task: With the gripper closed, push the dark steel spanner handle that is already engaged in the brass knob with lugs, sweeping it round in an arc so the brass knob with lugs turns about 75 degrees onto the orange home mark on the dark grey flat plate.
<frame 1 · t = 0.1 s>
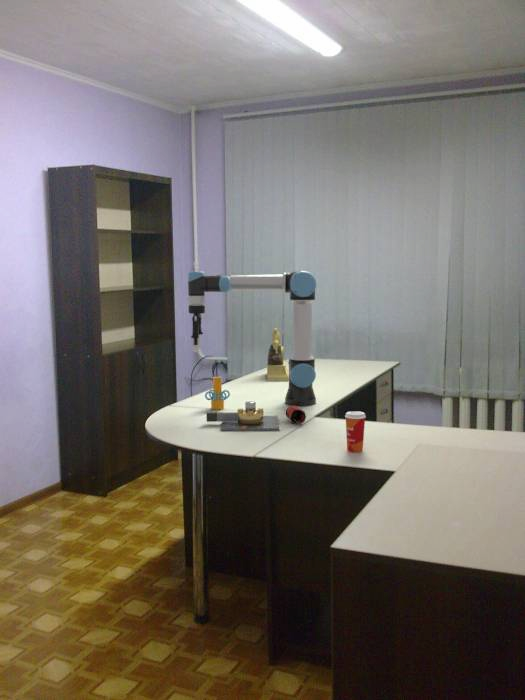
hand: (197, 350, 335), 28 cm above the table, fingers open, 13 cm apart
flat plate: (250, 424, 306), on the table
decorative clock: (278, 377, 428), on the table
cylinder: (217, 408, 339), on the table
beverage can: (294, 422, 311), on the table
brass knob with lugs: (235, 415, 305), point 4 cm above the table, hinge at 0.0°
paper cup: (354, 450, 263), on the table
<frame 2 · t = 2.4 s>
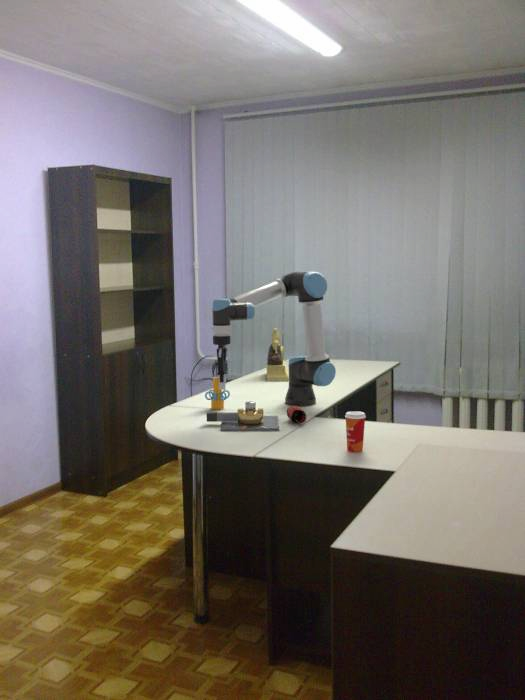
hand: (222, 389, 308), 14 cm above the table, fingers closed
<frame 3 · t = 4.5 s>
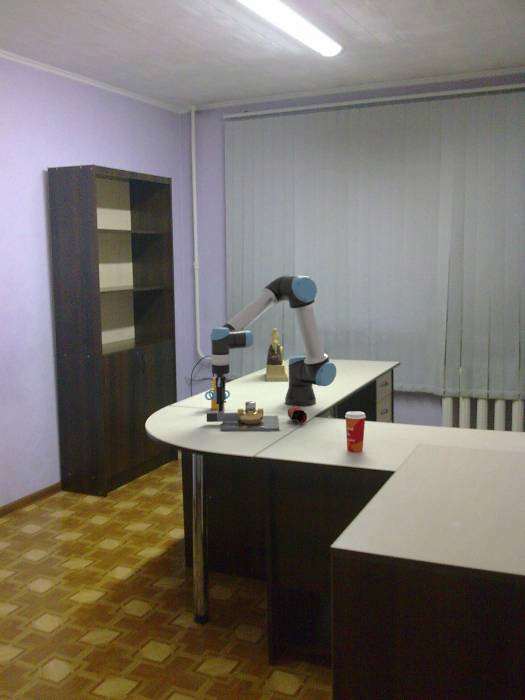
hand: (221, 418, 307), 2 cm above the table, fingers closed
brass knob with lugs: (235, 415, 305), point 4 cm above the table, hinge at 1.8°, touching gripper
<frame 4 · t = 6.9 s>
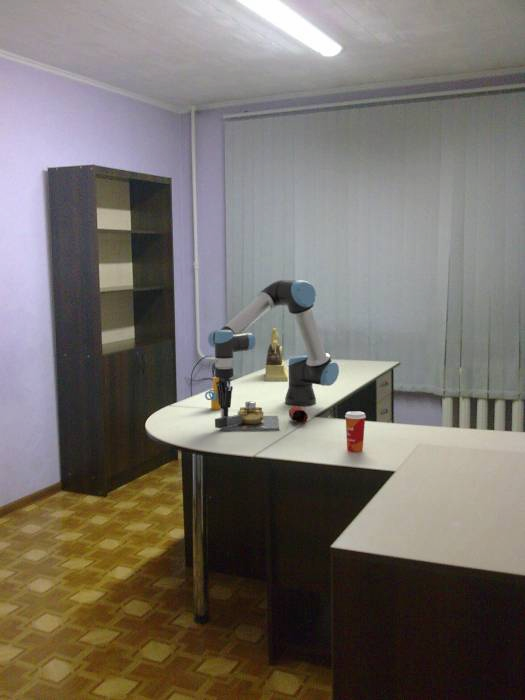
hand: (224, 423, 298), 2 cm above the table, fingers closed
brass knob with lugs: (239, 417, 301), point 4 cm above the table, hinge at 43.2°, touching gripper
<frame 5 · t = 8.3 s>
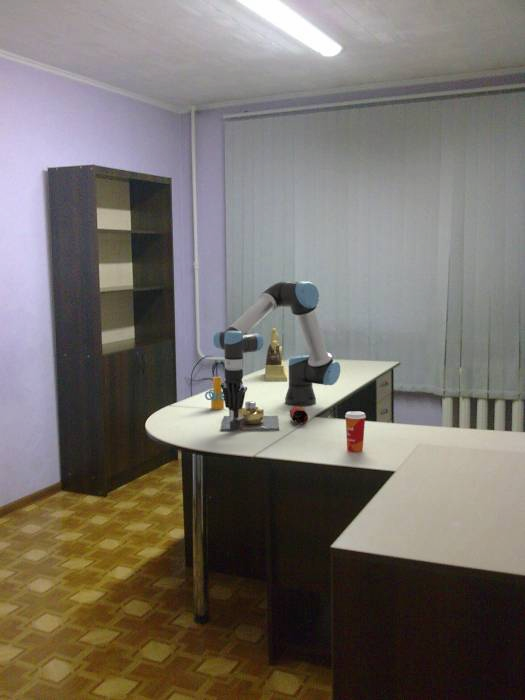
hand: (233, 425, 295), 2 cm above the table, fingers closed
brass knob with lugs: (244, 418, 299), point 4 cm above the table, hinge at 68.0°, touching gripper
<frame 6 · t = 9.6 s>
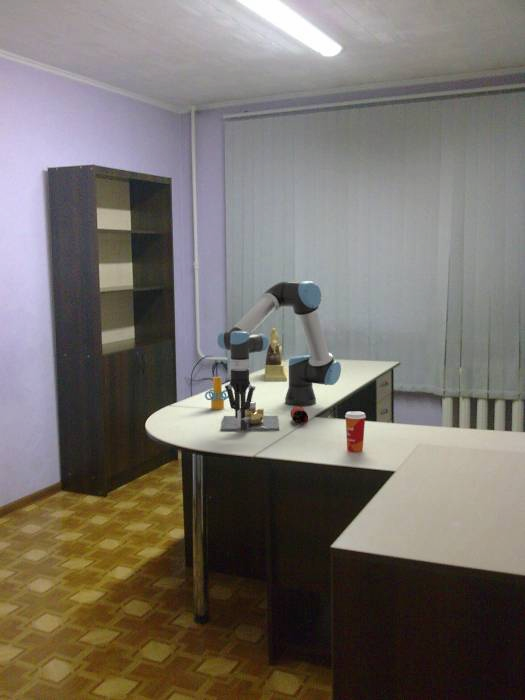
hand: (240, 425, 293), 2 cm above the table, fingers closed
brass knob with lugs: (248, 418, 299), point 4 cm above the table, hinge at 82.2°
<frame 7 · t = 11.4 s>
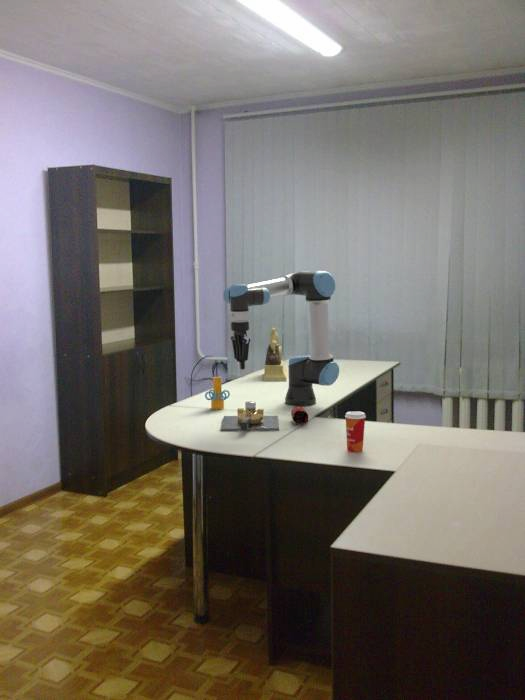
hand: (241, 376, 304), 21 cm above the table, fingers closed
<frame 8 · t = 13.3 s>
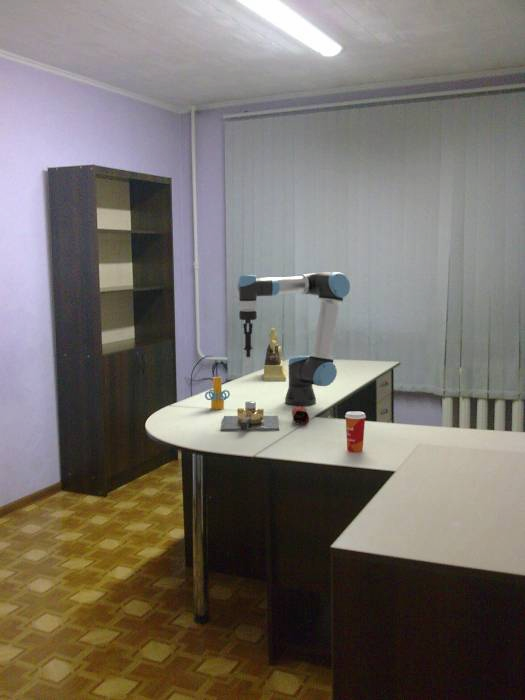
hand: (248, 364, 314), 24 cm above the table, fingers closed
at the end: brass knob with lugs at +82° (first picture: +0°) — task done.
